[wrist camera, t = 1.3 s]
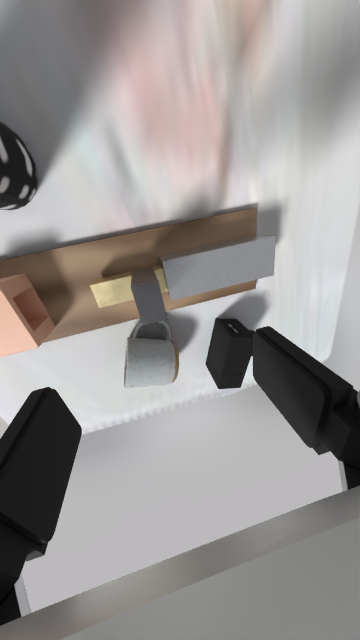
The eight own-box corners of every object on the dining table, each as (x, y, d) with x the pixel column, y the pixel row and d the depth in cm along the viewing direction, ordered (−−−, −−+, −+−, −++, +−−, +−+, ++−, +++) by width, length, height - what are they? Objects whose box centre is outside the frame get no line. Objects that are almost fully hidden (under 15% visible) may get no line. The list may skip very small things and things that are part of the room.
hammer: (93, 275, 25) (69, 301, 16) (247, 241, 27) (301, 246, 18) (104, 303, 26) (88, 340, 18) (247, 268, 29) (296, 285, 20)
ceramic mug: (168, 366, 36) (176, 396, 29) (124, 366, 34) (121, 399, 27) (177, 316, 32) (188, 338, 25) (127, 312, 30) (125, 335, 23)
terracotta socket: (-17, 282, 23) (-58, 295, 18) (25, 273, 24) (-4, 284, 19) (20, 335, 27) (-6, 358, 22) (55, 326, 27) (38, 347, 23)
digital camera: (229, 363, 39) (246, 388, 33) (205, 364, 38) (218, 390, 32) (242, 318, 35) (264, 337, 29) (215, 318, 34) (233, 337, 28)
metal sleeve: (158, 256, 26) (162, 261, 22) (253, 234, 28) (275, 235, 23) (165, 289, 28) (170, 300, 24) (253, 268, 30) (273, 275, 26)
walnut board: (-22, 264, 23) (-28, 266, 22) (252, 208, 27) (256, 207, 26) (31, 343, 29) (27, 346, 28) (252, 286, 33) (255, 288, 32)
